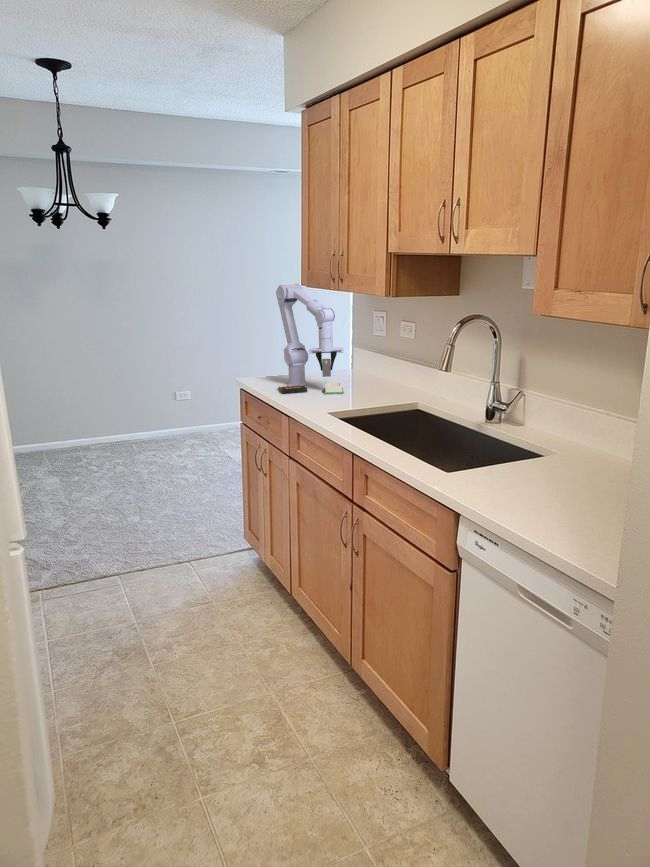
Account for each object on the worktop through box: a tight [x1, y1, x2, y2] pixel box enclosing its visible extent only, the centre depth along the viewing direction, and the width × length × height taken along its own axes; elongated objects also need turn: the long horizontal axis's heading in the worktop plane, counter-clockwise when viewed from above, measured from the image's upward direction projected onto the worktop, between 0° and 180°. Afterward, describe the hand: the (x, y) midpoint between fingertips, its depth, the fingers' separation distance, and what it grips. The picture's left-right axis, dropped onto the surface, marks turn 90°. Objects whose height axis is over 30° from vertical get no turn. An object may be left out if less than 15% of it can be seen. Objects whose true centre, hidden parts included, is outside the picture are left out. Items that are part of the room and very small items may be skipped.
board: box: [323, 382, 345, 395], centre depth 280 cm, size 10×8×3 cm
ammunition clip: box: [277, 385, 308, 395], centre depth 284 cm, size 11×2×12 cm
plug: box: [321, 358, 332, 378], centre depth 278 cm, size 4×4×7 cm
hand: (326, 370), depth 279 cm, fingers closed on plug, 3 cm apart
